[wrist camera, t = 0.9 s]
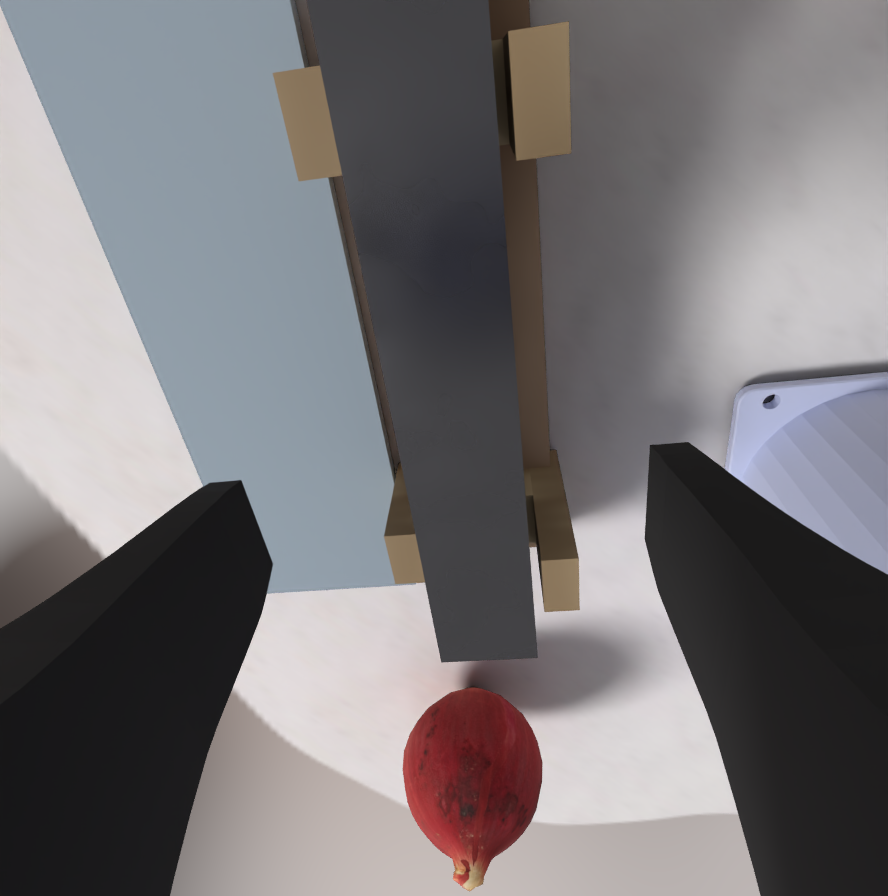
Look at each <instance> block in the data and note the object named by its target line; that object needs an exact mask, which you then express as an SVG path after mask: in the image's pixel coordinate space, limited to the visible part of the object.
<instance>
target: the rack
mask: <svg viewBox="0 0 888 896" xmlns="http://www.w3.org/2000/svg"><path fill="white" fill-rule="evenodd" d="M306 1H307V0H306ZM488 2H489V16H490V29H491V42H492V56H493V69H494V82H495V96H496V109H497V122H498V136H499V149H500V162H501V176H502V189H503V202H504V216H505V229H506V243H507V256H508V269H509V283H510V296H511V309H512V323H513V336H514V349H515V363H516V376H517V389H518V403H519V416H520V429H521V443H522V456H523V469H524V483H525V496H526V509H527V523H528V536H529V547H537V554H538V562H539V570H540V579H541V587H542V595H543V603H544V611H545V612H553V611H571V610H580V608H579V558H578V553H577V548H576V543H575V539H574V534H573V529H572V524H571V519H570V514H569V510H568V505H567V500H566V495H565V490H564V485H563V480H562V476H561V471H560V466H559V461H558V456H557V451H556V450H550V446H549V424H548V403H547V381H546V360H545V338H544V316H543V295H542V273H541V251H540V230H539V208H538V186H537V165H536V158H541V157H548V156H556V155H563V154H570V153H571V113H570V58H569V21H568V22H562V23H555V24H549V25H543V26H537V27H531V28H530V13H529V0H488ZM311 25H312V24H311ZM312 30H313V29H312ZM313 35H314V34H313ZM314 40H315V39H314ZM315 45H316V44H315ZM316 50H317V49H316ZM317 55H318V54H317ZM273 77H274V81H275V85H276V89H277V94H278V98H279V102H280V106H281V110H282V114H283V119H284V123H285V127H286V131H287V135H288V139H289V144H290V148H291V152H292V156H293V160H294V164H295V169H296V173H297V177H298V181H306V180H314V179H321V178H328V177H335V176H342V172H341V167H340V162H339V157H338V152H337V147H336V142H335V137H334V132H333V128H332V123H331V118H330V113H329V108H328V103H327V98H326V93H325V88H324V83H323V78H322V74H321V69H320V65H319V66H313V67H307V68H301V69H294V70H288V71H282V72H276V73H273ZM344 187H345V186H344ZM345 192H346V191H345ZM346 197H347V196H346ZM347 202H348V201H347ZM348 207H349V206H348ZM349 212H350V211H349ZM355 241H356V240H355ZM356 246H357V245H356ZM357 251H358V250H357ZM358 256H359V255H358ZM359 261H360V260H359ZM366 295H367V294H366ZM367 300H368V299H367ZM368 305H369V304H368ZM369 310H370V309H369ZM370 315H371V314H370ZM377 349H378V348H377ZM378 354H379V353H378ZM379 359H380V358H379ZM380 364H381V363H380ZM387 398H388V397H387ZM388 403H389V402H388ZM389 408H390V407H389ZM390 413H391V412H390ZM391 418H392V417H391ZM398 452H399V451H398ZM399 457H400V456H399ZM400 462H401V461H400ZM384 539H385V543H386V547H387V551H388V556H389V560H390V564H391V568H392V572H393V576H394V581H395V584H407V583H423V582H425V579H424V574H423V569H422V564H421V559H420V555H419V550H418V545H417V540H416V535H415V530H414V525H413V520H412V515H411V510H410V505H409V501H408V496H407V491H406V486H405V481H404V476H403V471H402V466H401V463H399V464H398V469H397V474H396V479H395V484H394V489H393V494H392V499H391V504H390V509H389V514H388V519H387V524H386V528H385V533H384Z"/></svg>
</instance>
